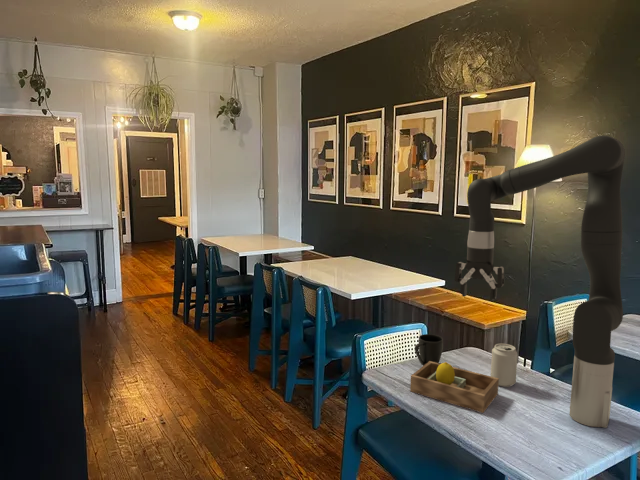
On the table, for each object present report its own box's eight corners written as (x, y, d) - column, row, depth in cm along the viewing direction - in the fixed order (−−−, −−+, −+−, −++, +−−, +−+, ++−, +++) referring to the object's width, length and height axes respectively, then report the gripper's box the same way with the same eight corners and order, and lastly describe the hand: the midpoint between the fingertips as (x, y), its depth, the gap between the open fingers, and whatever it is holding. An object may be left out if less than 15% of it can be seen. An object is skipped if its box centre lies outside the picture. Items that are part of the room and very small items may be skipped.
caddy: (497, 394, 143) (498, 378, 142) (483, 413, 132) (484, 396, 131) (429, 375, 156) (429, 361, 155) (410, 391, 145) (410, 375, 144)
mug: (405, 366, 163) (406, 339, 162) (428, 357, 171) (429, 332, 169) (424, 374, 157) (425, 346, 156) (447, 365, 164) (448, 338, 163)
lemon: (456, 385, 146) (457, 361, 145) (451, 392, 142) (452, 367, 140) (438, 381, 149) (439, 357, 148) (433, 388, 144) (434, 363, 143)
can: (511, 390, 146) (514, 352, 144) (487, 383, 150) (489, 347, 148) (518, 381, 152) (520, 345, 150) (494, 375, 156) (496, 340, 154)
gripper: (508, 246, 142) (505, 299, 144) (461, 242, 150) (459, 292, 152) (501, 249, 136) (498, 304, 138) (453, 245, 144) (450, 297, 146)
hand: (478, 298), depth 145 cm, fingers open, 8 cm apart
